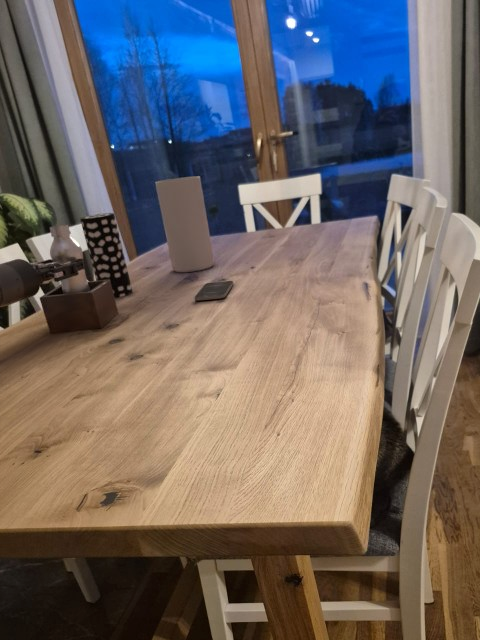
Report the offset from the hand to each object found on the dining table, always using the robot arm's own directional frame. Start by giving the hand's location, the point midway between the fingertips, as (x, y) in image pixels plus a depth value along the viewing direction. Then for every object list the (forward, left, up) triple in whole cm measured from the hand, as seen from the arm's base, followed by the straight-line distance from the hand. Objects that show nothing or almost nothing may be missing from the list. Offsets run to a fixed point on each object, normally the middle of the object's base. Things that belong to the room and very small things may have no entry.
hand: (67, 263), depth 124 cm
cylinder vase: (+15, +49, -14) cm, 53 cm away
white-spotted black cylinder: (-1, +25, -14) cm, 29 cm away
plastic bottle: (0, 0, -12) cm, 12 cm away
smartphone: (+27, +16, -13) cm, 34 cm away
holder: (0, 0, -13) cm, 14 cm away
